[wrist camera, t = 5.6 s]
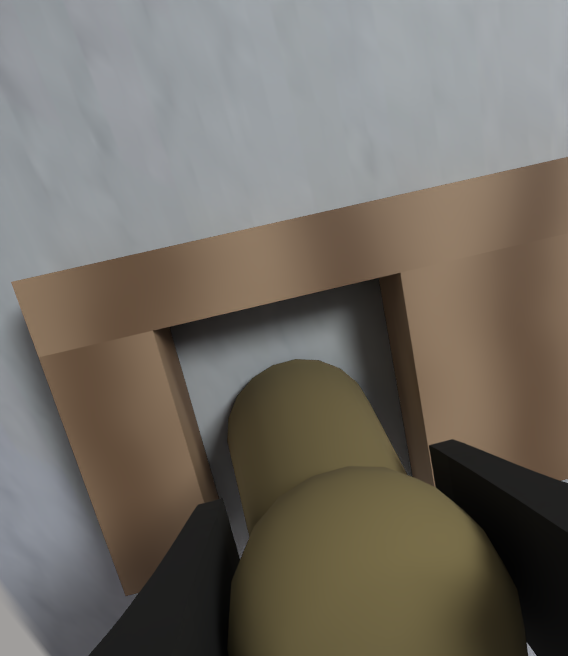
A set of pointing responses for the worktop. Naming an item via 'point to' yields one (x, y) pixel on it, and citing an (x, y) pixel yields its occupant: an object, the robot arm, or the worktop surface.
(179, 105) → the worktop surface
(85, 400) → the notched board
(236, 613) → the cork
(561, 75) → the worktop surface
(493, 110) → the worktop surface
